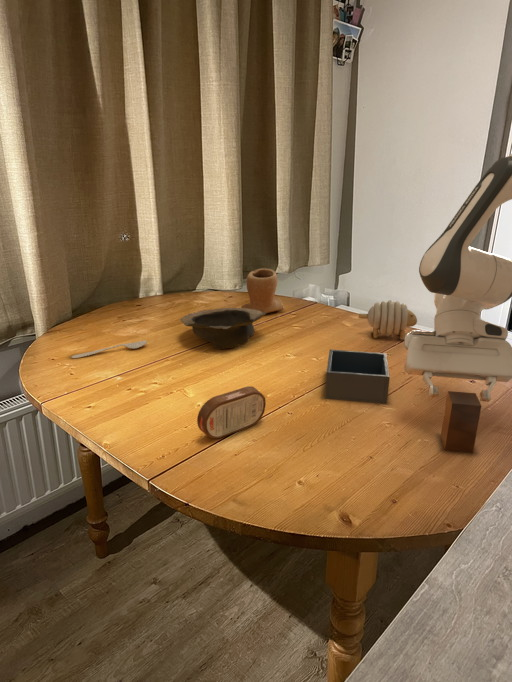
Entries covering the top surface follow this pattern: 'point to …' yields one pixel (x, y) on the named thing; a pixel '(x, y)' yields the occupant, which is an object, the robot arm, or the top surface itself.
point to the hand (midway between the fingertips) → (459, 398)
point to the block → (460, 421)
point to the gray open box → (357, 376)
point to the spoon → (129, 345)
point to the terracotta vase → (263, 291)
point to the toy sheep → (390, 318)
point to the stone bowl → (224, 325)
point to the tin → (231, 412)
